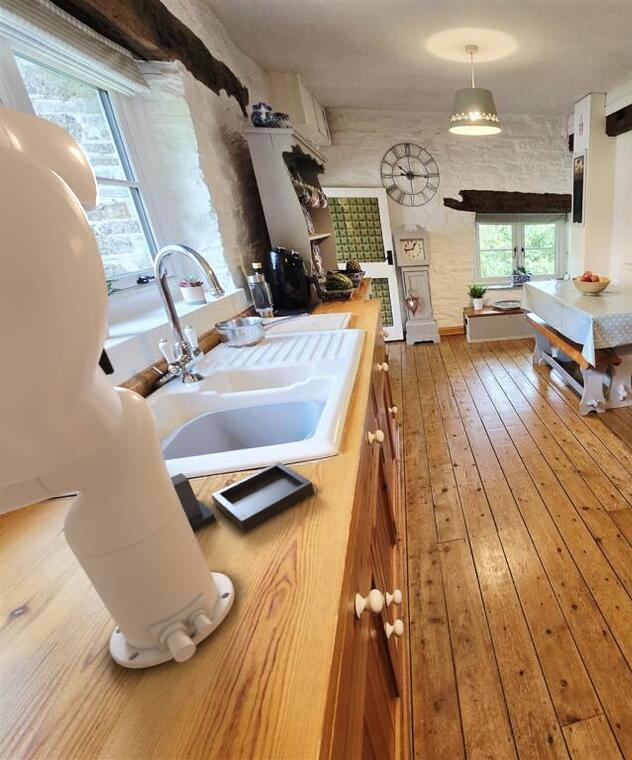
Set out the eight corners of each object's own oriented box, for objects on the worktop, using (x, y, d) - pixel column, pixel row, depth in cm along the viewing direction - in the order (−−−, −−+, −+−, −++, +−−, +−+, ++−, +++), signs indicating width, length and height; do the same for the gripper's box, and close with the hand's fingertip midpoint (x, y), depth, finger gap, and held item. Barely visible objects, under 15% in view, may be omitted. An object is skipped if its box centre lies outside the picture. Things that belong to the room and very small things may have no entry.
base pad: (314, 492, 75) (311, 482, 74) (245, 532, 66) (241, 521, 65) (281, 471, 82) (278, 461, 81) (214, 504, 73) (210, 494, 72)
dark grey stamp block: (216, 519, 69) (200, 479, 66) (166, 546, 64) (146, 504, 61) (199, 504, 73) (184, 466, 70) (151, 528, 68) (132, 487, 65)
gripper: (45, 264, 45) (109, 402, 52) (91, 252, 59) (138, 362, 66) (-56, 271, 42) (27, 418, 49) (18, 257, 56) (75, 373, 62)
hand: (90, 386), depth 57 cm, fingers open, 9 cm apart
